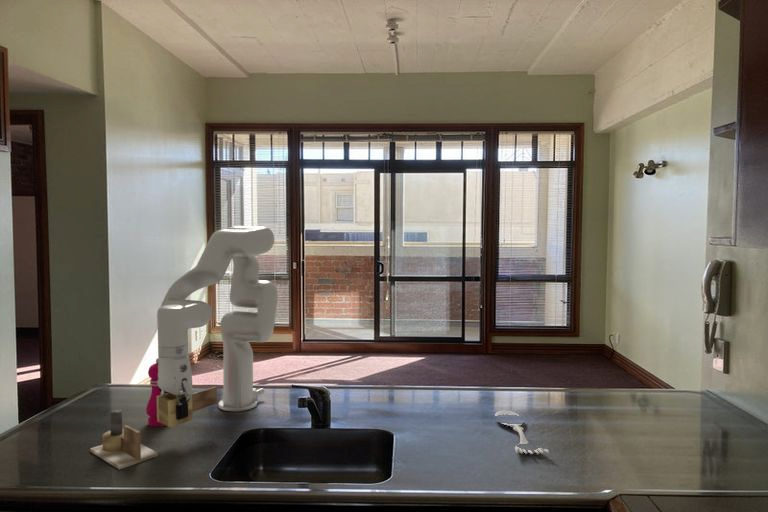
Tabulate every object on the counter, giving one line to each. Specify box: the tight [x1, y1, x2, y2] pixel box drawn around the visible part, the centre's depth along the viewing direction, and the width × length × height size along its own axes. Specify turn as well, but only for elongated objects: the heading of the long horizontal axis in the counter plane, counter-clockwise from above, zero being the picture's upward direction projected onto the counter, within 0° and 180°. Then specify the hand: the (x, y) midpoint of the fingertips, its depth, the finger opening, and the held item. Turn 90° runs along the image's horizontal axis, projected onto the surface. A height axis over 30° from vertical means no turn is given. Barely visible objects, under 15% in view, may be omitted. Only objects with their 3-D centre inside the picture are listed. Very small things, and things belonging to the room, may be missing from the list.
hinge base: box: [89, 409, 159, 470], centre depth 138 cm, size 16×10×10 cm, turn 52°
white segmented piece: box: [494, 409, 550, 455], centre depth 154 cm, size 9×32×4 cm, turn 0°
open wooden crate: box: [157, 386, 218, 428], centre depth 147 cm, size 16×7×7 cm, turn 142°
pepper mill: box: [145, 357, 164, 427], centre depth 159 cm, size 7×7×20 cm
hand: (174, 414), depth 144 cm, fingers closed on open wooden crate, 6 cm apart
